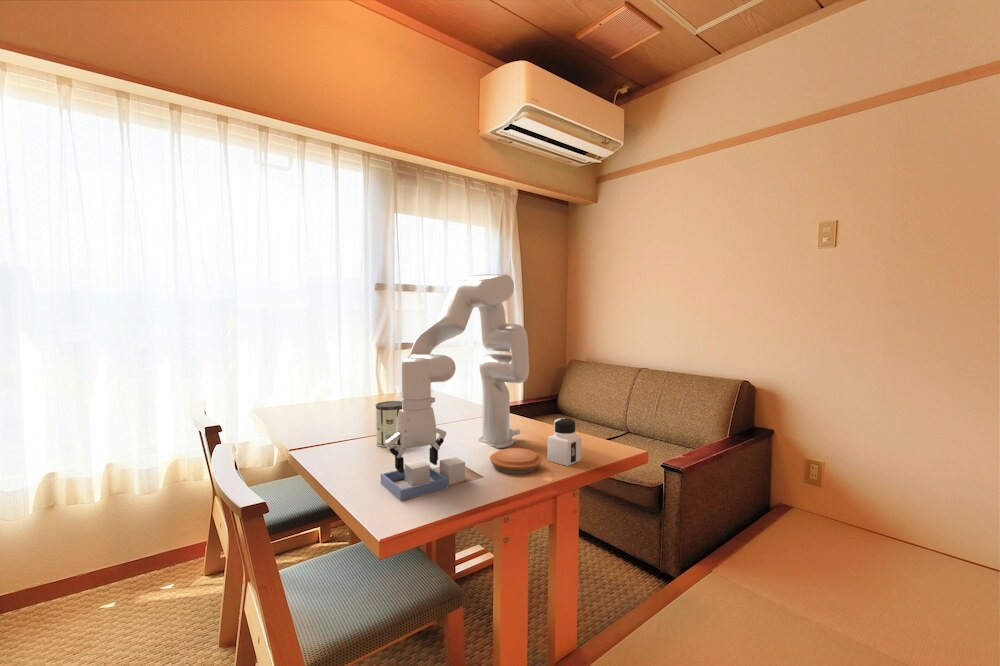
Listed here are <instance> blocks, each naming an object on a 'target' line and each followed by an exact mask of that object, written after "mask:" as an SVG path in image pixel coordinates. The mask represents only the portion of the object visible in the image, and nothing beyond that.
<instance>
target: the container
mask: <svg viewBox="0 0 1000 666" xmlns="http://www.w3.org/2000/svg"><path fill="white" fill-rule="evenodd" d="M546 455H547V461H548V462H550V463H554V462H555V463H554V464H557V463H558V465H561V466H564V465H565V467H569V465H570V466H572V465H573V464H576V463H578V462H581V461H582V436H581V435H578V434H577V435H576V421H575V420H574V419H572V418H567V417H563V418H562V417H560V418H557V419H555V420H554V421H553V434H551V435H549V436H547V454H546Z"/></svg>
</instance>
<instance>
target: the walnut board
mask: <svg viewBox="0 0 1000 666" xmlns="http://www.w3.org/2000/svg"><path fill="white" fill-rule="evenodd" d="M432 468H433V469H434V470H436V471H437V472H439V473H440V466H438V467H432ZM482 478H484V476H483V475H481V474H480V473H478V472H476V471H474V470H473V469H471V468H469V467H467V466H466V465H465V481H461V482H457V483H453V484H450V485H448V487H453V486H456V485H460V484H464V483H468V482H471V481H475V480H479V479H482Z"/></svg>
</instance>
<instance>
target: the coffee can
mask: <svg viewBox="0 0 1000 666" xmlns="http://www.w3.org/2000/svg"><path fill="white" fill-rule="evenodd" d="M400 409H402V400H401V401H399V400H388V401H387V400H386V401H380V402H378V403H375V411H376V412H375V414H376V415H375V418H376V419H375V420H376V421H375V422H376V425H375V426H376V428H375V430H376V446H378V447H380V446H382V447H381V448H387V447H386V445H385V441H387V440H388V439H390V438H391V437H392V436H394V435H395V434H396V426H397V418H398V413H399V410H400ZM397 446H398V445H397V444H396V442H395V443H393V447H394V448H397Z"/></svg>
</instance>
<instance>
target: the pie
mask: <svg viewBox="0 0 1000 666" xmlns="http://www.w3.org/2000/svg"><path fill="white" fill-rule="evenodd" d="M489 461H490V463H491V464H492V465H493V466H494V468H495V469H496V470H498V471H500V472H503V473H506V474H507V473H509V474H526V473H530V472H533V471H534V470H537V468H538V466H539V465H540V464H541V463H542V462H543V457H542V456H541V455H540V454H539V453H537V452H535V451H533V450H531V449H527V448H521V447H512V448H509V447H508V448H502V449H499V450H497V451H496V452H494V453H492V454H491V455H490V456H489Z"/></svg>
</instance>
